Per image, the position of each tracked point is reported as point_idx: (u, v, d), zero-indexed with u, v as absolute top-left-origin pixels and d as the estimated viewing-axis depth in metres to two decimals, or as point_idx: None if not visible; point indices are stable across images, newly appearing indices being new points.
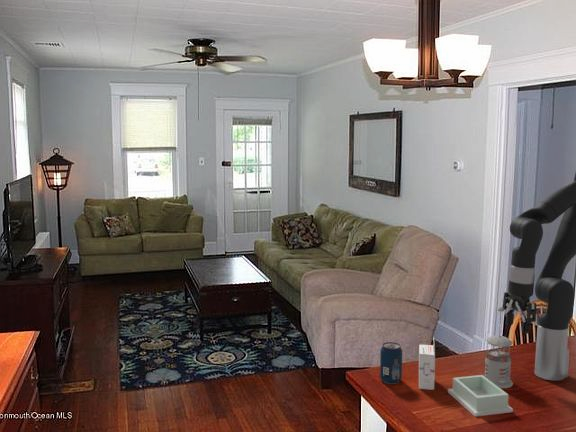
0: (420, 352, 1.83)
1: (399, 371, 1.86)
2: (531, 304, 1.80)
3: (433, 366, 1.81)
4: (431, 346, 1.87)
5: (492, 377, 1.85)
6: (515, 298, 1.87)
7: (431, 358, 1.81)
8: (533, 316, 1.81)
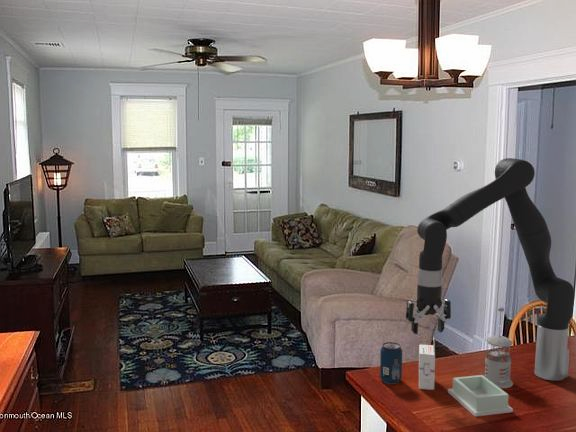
0: (420, 352, 1.83)
1: (399, 371, 1.86)
2: None
3: (433, 366, 1.81)
4: (431, 346, 1.87)
5: (492, 377, 1.85)
6: (428, 303, 1.82)
7: (431, 358, 1.81)
8: (446, 311, 1.85)
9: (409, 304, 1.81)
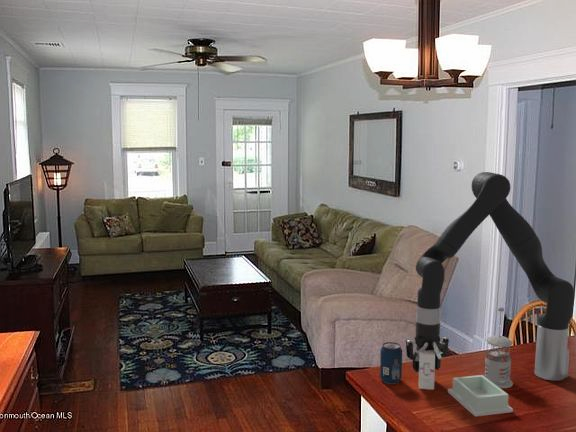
0: (420, 352, 1.83)
1: (399, 371, 1.86)
2: None
3: (433, 366, 1.81)
4: None
5: (492, 377, 1.85)
6: (427, 340, 1.83)
7: (431, 358, 1.81)
8: (442, 349, 1.87)
9: (408, 343, 1.83)
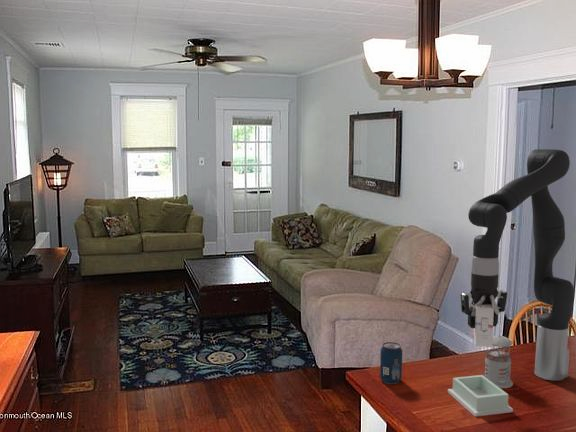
0: (477, 306, 1.68)
1: (399, 371, 1.86)
2: None
3: (491, 321, 1.66)
4: None
5: (492, 377, 1.85)
6: (484, 293, 1.68)
7: (489, 312, 1.66)
8: (500, 304, 1.72)
9: (463, 297, 1.68)
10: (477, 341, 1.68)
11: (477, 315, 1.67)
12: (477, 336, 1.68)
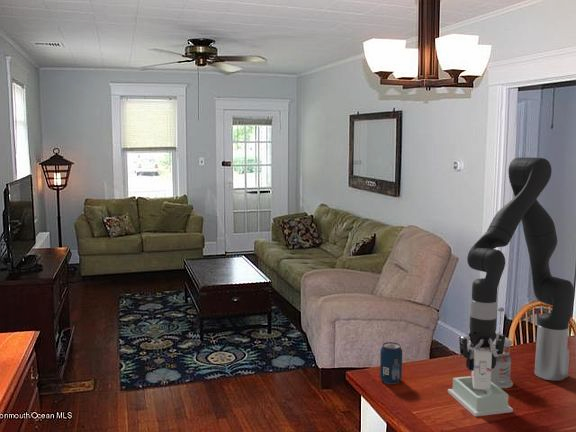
0: None
1: (399, 371, 1.86)
2: None
3: (490, 364, 1.68)
4: None
5: (492, 377, 1.85)
6: (482, 336, 1.70)
7: (487, 356, 1.68)
8: (498, 346, 1.74)
9: (462, 340, 1.70)
10: (475, 384, 1.70)
11: (475, 358, 1.69)
12: (475, 379, 1.69)
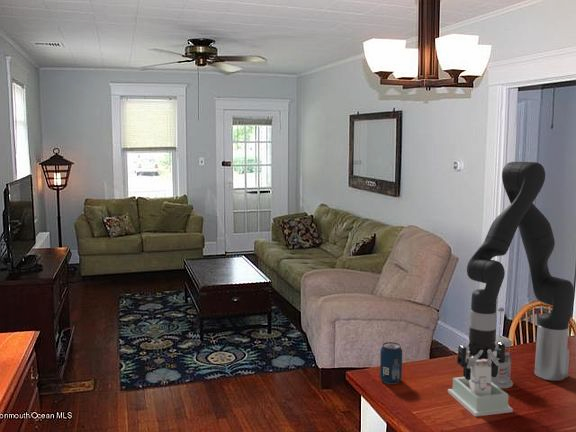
0: (474, 365, 1.70)
1: (399, 371, 1.86)
2: None
3: (489, 379, 1.69)
4: None
5: (492, 377, 1.85)
6: (481, 347, 1.71)
7: (487, 371, 1.69)
8: (499, 355, 1.75)
9: (461, 349, 1.70)
10: None
11: (475, 374, 1.69)
12: (476, 394, 1.70)
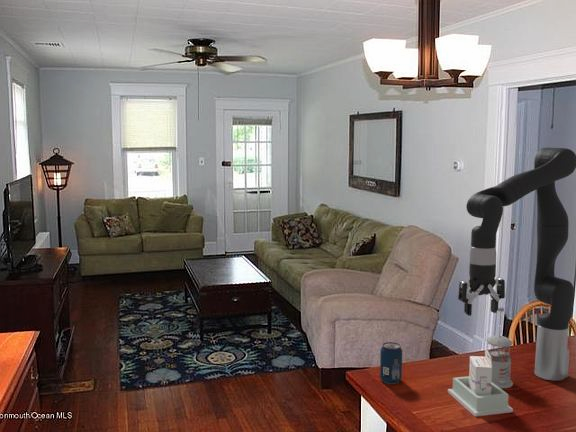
0: (475, 365, 1.70)
1: (399, 371, 1.86)
2: None
3: (490, 379, 1.69)
4: (483, 357, 1.75)
5: (492, 377, 1.85)
6: (482, 282, 1.73)
7: (488, 371, 1.69)
8: (499, 291, 1.77)
9: (462, 284, 1.72)
10: None
11: (476, 374, 1.69)
12: (476, 394, 1.70)
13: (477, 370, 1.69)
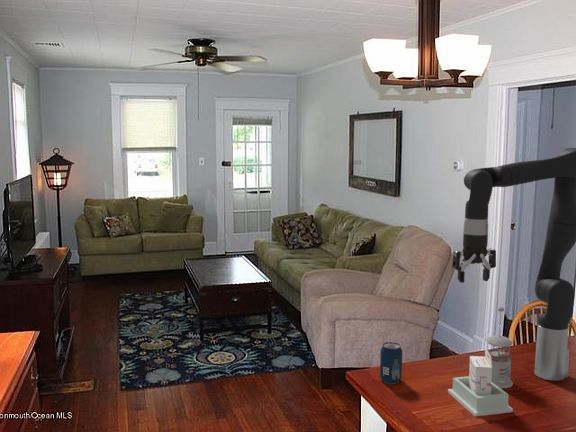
0: (475, 365, 1.70)
1: (399, 371, 1.86)
2: None
3: (490, 379, 1.69)
4: (483, 357, 1.75)
5: (492, 377, 1.85)
6: (474, 252, 1.86)
7: (488, 371, 1.69)
8: (491, 261, 1.90)
9: (456, 253, 1.85)
10: None
11: (476, 374, 1.69)
12: (476, 394, 1.70)
13: (477, 370, 1.69)
